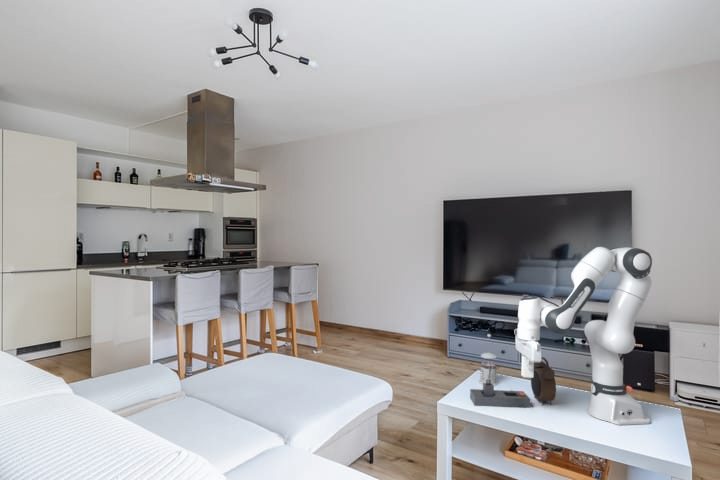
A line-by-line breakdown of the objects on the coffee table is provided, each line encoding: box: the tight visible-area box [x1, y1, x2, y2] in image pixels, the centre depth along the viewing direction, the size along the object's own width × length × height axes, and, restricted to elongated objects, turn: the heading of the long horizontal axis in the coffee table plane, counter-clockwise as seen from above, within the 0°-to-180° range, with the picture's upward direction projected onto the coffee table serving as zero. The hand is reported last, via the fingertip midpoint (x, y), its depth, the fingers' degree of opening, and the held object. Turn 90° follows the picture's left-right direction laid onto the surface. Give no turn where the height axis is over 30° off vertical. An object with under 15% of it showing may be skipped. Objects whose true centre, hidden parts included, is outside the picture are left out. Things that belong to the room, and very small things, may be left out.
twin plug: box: [482, 379, 495, 395], centre depth 184 cm, size 4×3×10 cm
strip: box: [469, 388, 531, 409], centre depth 184 cm, size 24×9×5 cm, turn 87°
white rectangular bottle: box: [520, 355, 535, 379], centre depth 174 cm, size 4×3×10 cm
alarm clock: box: [530, 356, 557, 407], centre depth 186 cm, size 14×7×20 cm, turn 178°
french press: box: [478, 333, 499, 387], centre depth 209 cm, size 10×12×25 cm
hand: (527, 366), depth 174 cm, fingers closed on white rectangular bottle, 3 cm apart
